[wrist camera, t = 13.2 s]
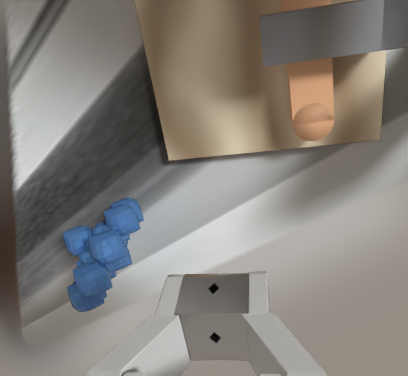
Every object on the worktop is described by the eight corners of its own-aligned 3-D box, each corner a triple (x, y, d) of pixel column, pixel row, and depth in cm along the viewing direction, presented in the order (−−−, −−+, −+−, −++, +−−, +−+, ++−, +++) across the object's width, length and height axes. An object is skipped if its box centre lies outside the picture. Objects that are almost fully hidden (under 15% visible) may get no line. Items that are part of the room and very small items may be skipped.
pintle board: (393, -175, 23) (437, -223, 17) (374, 133, 32) (399, 164, 27) (116, -111, 26) (80, -135, 21) (171, 153, 35) (157, 185, 30)
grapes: (105, 153, 36) (45, 223, 26) (169, 184, 37) (136, 263, 26) (73, 238, 42) (13, 324, 31) (129, 263, 42) (89, 355, 32)
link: (268, -88, 24) (270, -94, 22) (327, -103, 23) (333, -110, 21) (288, 134, 31) (290, 144, 29) (333, 128, 30) (338, 138, 28)
